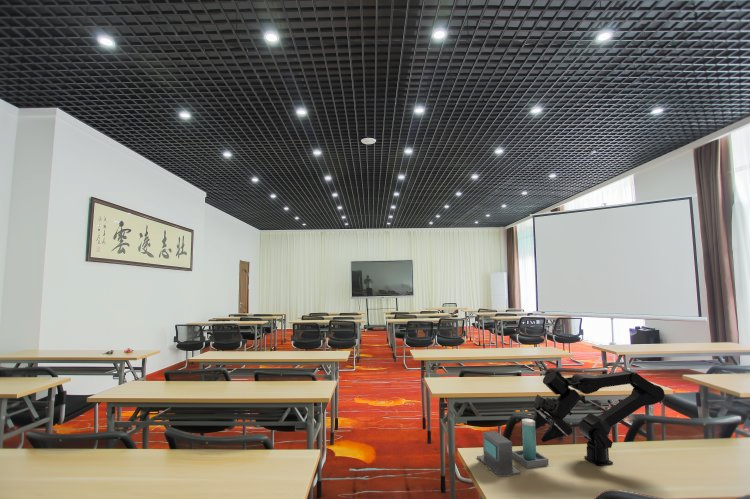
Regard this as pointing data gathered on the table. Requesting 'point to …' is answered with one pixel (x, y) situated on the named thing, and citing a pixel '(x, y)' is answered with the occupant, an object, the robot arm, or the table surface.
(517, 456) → the holder tray
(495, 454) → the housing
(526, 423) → the canister
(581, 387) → the robot arm
